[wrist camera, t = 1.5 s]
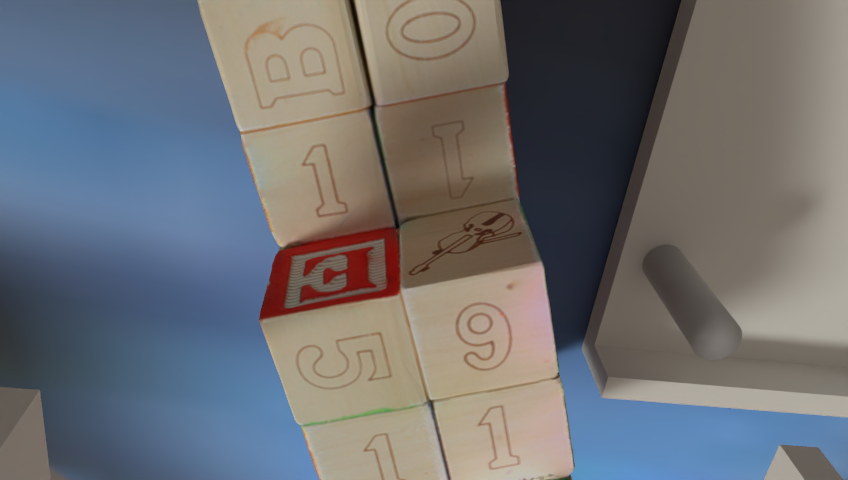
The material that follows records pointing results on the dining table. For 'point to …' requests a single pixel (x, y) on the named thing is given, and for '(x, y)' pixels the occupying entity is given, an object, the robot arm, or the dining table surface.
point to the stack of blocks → (396, 237)
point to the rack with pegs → (736, 219)
